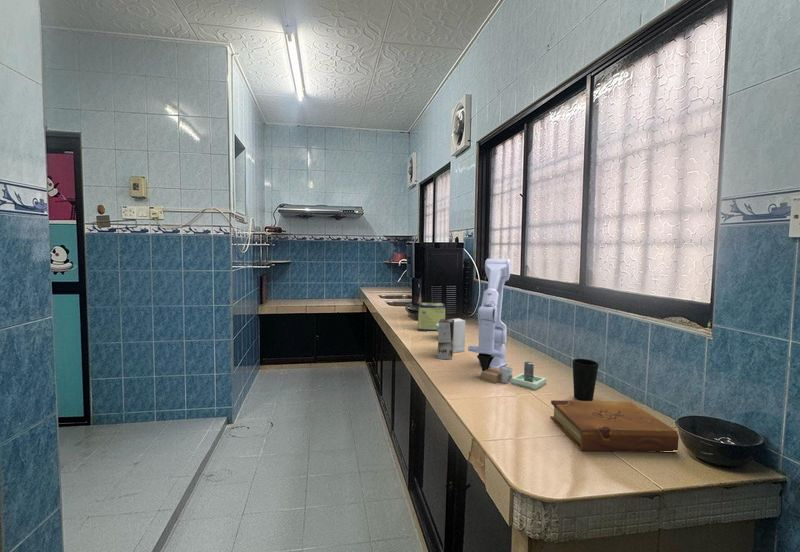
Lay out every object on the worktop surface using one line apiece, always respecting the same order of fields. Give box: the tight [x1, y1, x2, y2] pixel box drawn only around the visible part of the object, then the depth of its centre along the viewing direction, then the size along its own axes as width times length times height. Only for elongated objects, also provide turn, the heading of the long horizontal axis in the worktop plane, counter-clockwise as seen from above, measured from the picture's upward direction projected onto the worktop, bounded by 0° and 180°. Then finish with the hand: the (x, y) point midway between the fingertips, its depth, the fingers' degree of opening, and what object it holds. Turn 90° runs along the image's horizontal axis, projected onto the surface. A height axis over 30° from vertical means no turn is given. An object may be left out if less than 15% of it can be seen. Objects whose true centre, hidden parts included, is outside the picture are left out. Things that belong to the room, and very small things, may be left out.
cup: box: [572, 358, 599, 401], centre depth 126 cm, size 8×8×12 cm
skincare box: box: [451, 317, 466, 353], centre depth 182 cm, size 8×6×15 cm
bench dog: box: [498, 365, 513, 385], centre depth 140 cm, size 4×3×5 cm
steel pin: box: [523, 361, 535, 383], centre depth 139 cm, size 3×3×7 cm
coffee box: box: [437, 318, 454, 361], centre depth 171 cm, size 9×6×16 cm
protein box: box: [417, 302, 446, 332], centre depth 229 cm, size 10×16×16 cm
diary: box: [549, 399, 680, 452], centre depth 101 cm, size 23×19×6 cm
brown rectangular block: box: [480, 367, 501, 385], centre depth 144 cm, size 9×6×3 cm, turn 137°
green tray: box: [510, 372, 547, 391], centre depth 139 cm, size 9×9×2 cm
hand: (485, 373), depth 146 cm, fingers closed
